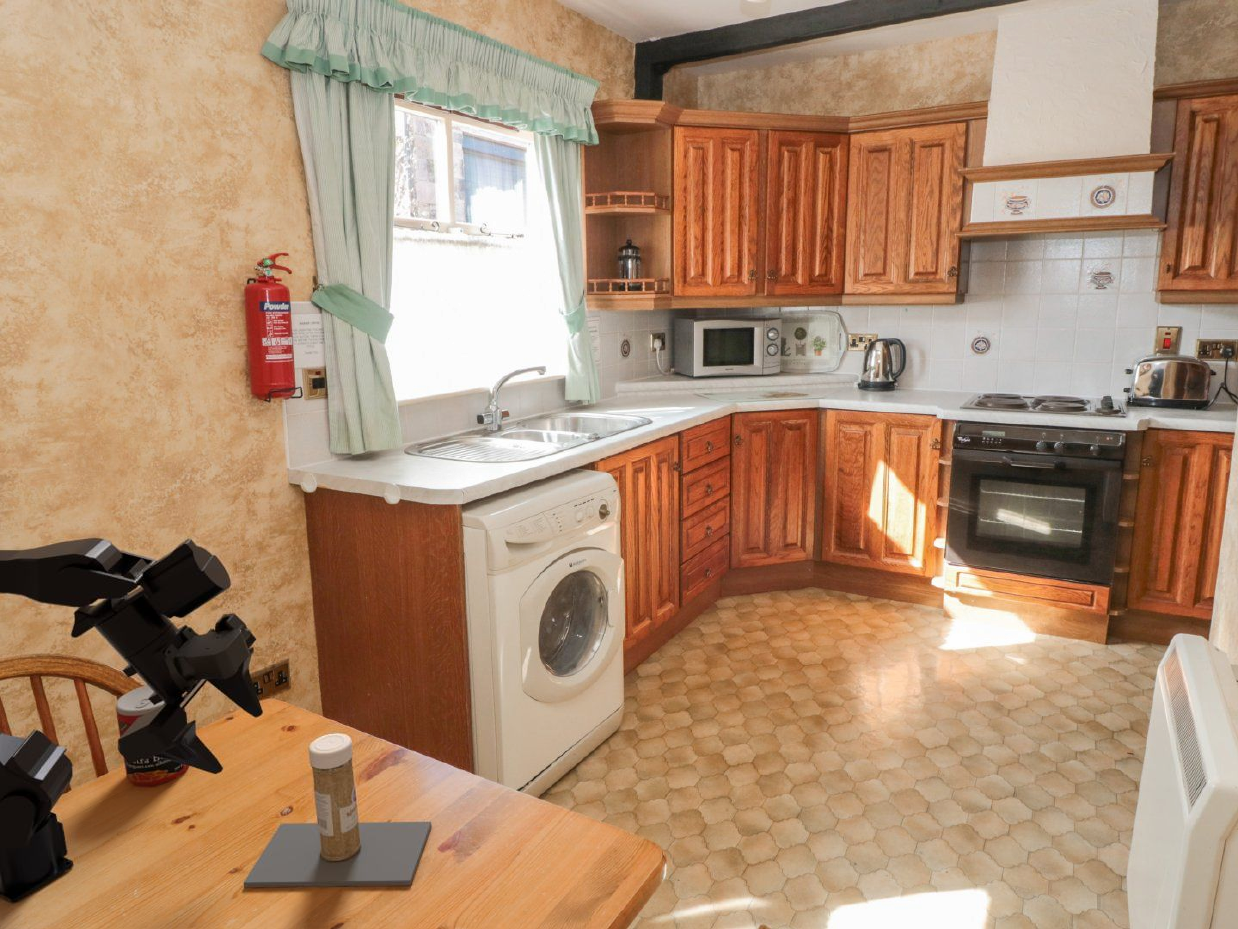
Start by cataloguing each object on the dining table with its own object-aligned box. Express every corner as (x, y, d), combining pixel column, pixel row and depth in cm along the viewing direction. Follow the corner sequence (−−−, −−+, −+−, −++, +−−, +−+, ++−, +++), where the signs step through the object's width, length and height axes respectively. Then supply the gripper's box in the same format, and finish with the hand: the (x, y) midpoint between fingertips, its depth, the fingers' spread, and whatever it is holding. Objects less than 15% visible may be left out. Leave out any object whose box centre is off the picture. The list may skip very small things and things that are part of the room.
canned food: (119, 793, 107) (106, 715, 104) (137, 759, 114) (125, 686, 112) (184, 782, 108) (173, 706, 106) (197, 751, 116) (187, 678, 114)
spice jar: (365, 855, 93) (355, 746, 90) (322, 868, 91) (311, 758, 88) (357, 832, 97) (347, 727, 94) (316, 844, 95) (305, 738, 92)
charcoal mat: (244, 887, 89) (243, 882, 89) (281, 828, 99) (280, 823, 99) (410, 885, 89) (410, 880, 89) (431, 826, 99) (431, 821, 99)
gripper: (150, 665, 79) (254, 778, 84) (245, 566, 96) (327, 665, 101) (69, 707, 82) (174, 815, 86) (176, 604, 99) (259, 699, 104)
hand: (240, 742), depth 94 cm, fingers open, 9 cm apart
